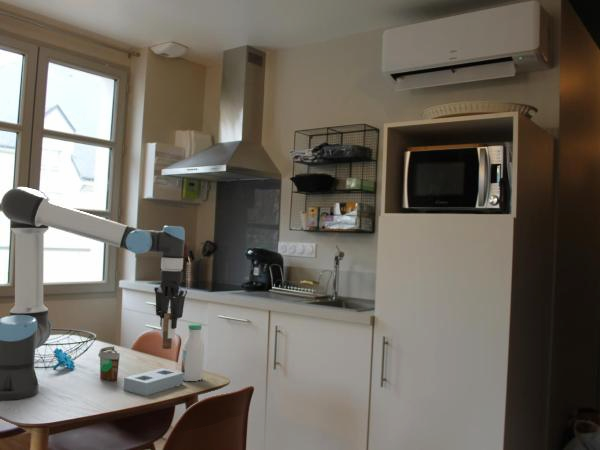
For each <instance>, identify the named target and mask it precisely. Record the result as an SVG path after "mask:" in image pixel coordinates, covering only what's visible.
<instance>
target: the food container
mask: <svg viewBox="0 0 600 450" xmlns="http://www.w3.org/2000/svg"><path fill="white" fill-rule="evenodd" d="M97 356H98V357H99V365H100V366H99V372H100V373H99V376H100V377H99V379H100V380H102V381H105V382H117V381H118V375H119V366H120V364H119V362H120V352H117V350H115V346H106V347H101V348H100V350H99V352H98V354H97Z"/></svg>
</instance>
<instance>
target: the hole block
mask: <svg viewBox="0 0 600 450" xmlns="http://www.w3.org/2000/svg"><path fill="white" fill-rule="evenodd" d="M183 376H184V373H182V372H181V371H177V370H173V369H168V368H163V367H160V368H157V369H153V370H150V371H144V372H142V373H137V374H134V375H129V376H126V377H124V378H123V389H122V390H123V391H127V392H131V393H133V394H134V393H135V394H138V395H142V396H149V395H152V394H155V393H158V392H159V393H160V392H162V391H165V390H170V389H171V388H176V387H178V386H177V385H179V386H181V385H180V384H182V385H184V381H183ZM175 386H176V387H175Z"/></svg>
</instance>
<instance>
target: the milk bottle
mask: <svg viewBox="0 0 600 450" xmlns="http://www.w3.org/2000/svg"><path fill="white" fill-rule="evenodd" d="M201 331H202V324H201V323H189V324H188V334H187V337H186V339H185V341H184V343H183V348H182V357H181V371H180V372H182V373H184V376H183V380H184V381H183V382H188V381H196V382H199V381H198V380H200V381H202V380H201V379H203V375H204V358H205V345H204V340H203V338H202V333H201Z"/></svg>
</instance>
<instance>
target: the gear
mask: <svg viewBox="0 0 600 450" xmlns="http://www.w3.org/2000/svg"><path fill="white" fill-rule="evenodd" d="M63 351H64V350H63V349H61V348H55V349H54V350H53V354H54V355H53V356H54V357H55V358H56V359H57V363H56V364H55V365H54V366H53V367H52V368H53V370H56V369H57V368H59V367H63V368H65V367H66V370H68V371H69V370H70V371H74V370H75V367H76V365H75V362H74V360H72V355H68V353H67V352H66V351H64V352H63Z"/></svg>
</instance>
